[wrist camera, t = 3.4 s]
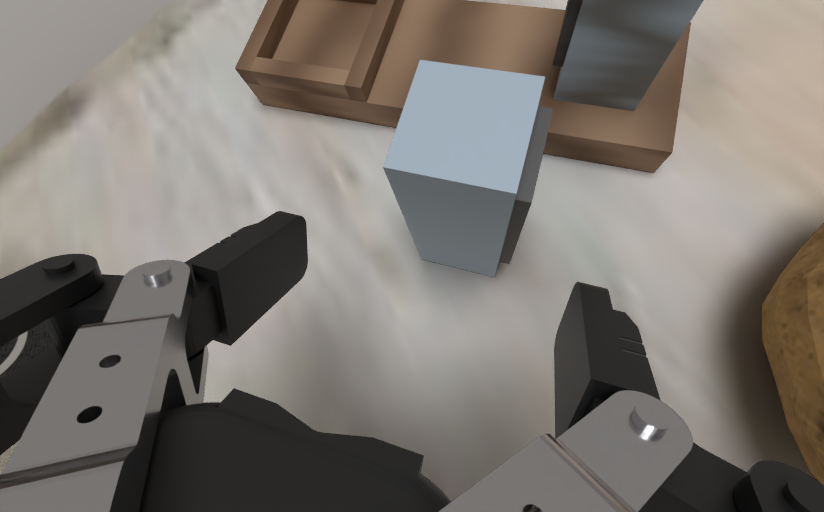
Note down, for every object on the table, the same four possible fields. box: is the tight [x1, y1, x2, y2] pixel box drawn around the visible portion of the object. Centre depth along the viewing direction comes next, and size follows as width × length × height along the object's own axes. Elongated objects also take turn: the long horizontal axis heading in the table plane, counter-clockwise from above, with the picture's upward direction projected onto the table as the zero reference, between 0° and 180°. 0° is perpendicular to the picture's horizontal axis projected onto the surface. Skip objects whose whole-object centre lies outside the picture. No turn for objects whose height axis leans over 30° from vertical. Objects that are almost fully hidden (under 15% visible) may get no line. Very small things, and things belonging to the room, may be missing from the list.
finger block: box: [383, 60, 553, 277], centre depth 17 cm, size 4×4×10 cm
